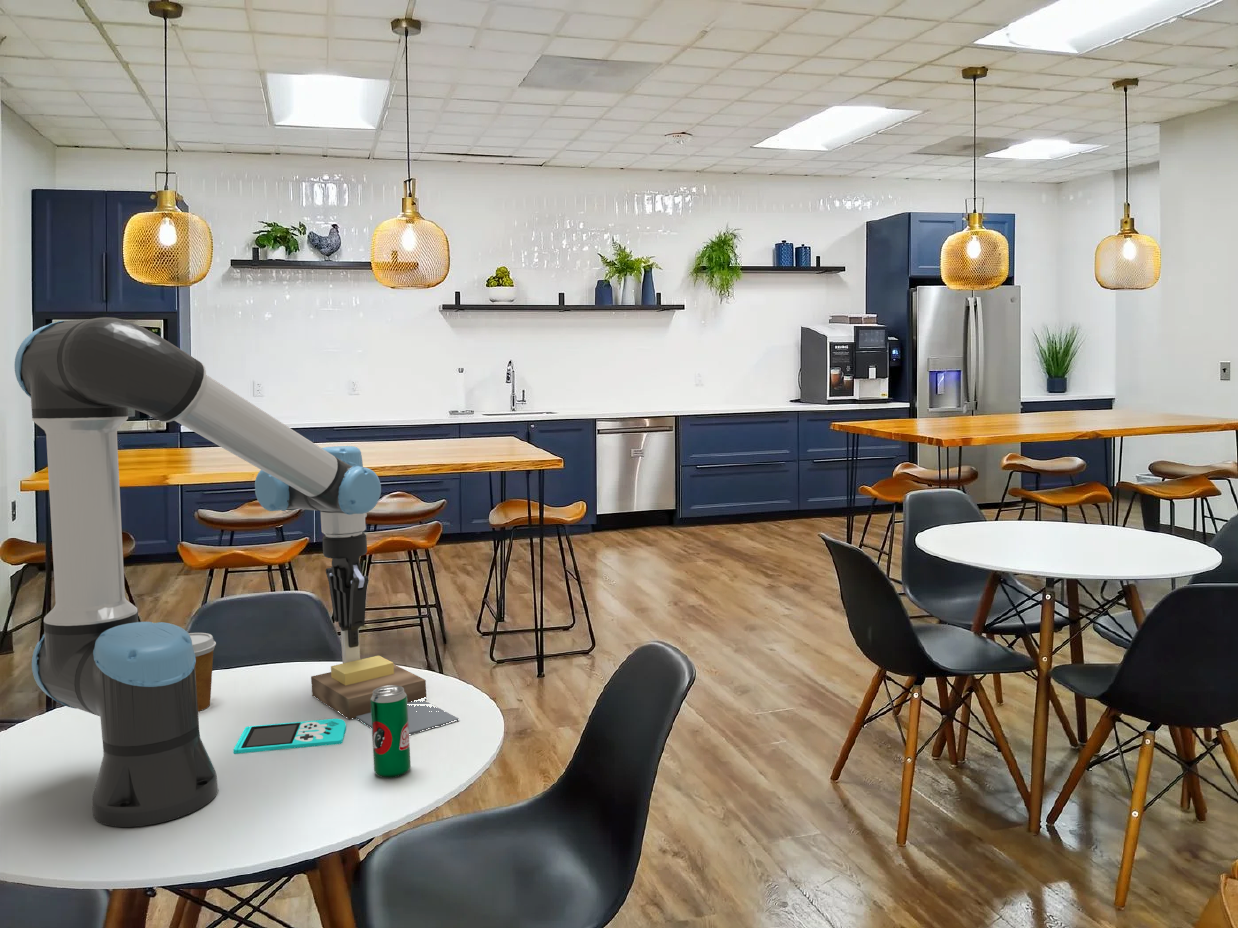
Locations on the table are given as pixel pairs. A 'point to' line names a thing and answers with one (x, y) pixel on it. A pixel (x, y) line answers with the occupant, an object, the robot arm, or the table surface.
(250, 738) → the handheld game console
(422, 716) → the mat
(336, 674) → the yellow rectangular block
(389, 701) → the soda can
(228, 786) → the table surface
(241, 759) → the table surface
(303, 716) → the table surface
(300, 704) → the table surface
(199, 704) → the disposable coffee cup
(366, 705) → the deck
